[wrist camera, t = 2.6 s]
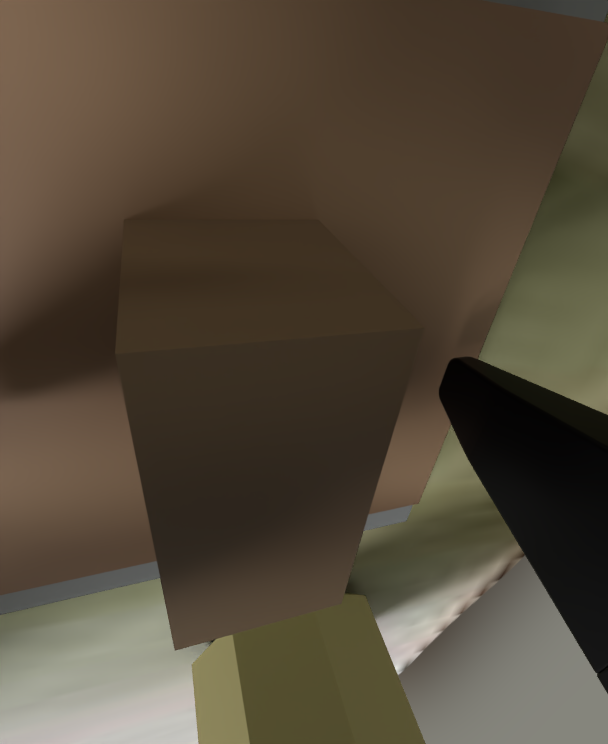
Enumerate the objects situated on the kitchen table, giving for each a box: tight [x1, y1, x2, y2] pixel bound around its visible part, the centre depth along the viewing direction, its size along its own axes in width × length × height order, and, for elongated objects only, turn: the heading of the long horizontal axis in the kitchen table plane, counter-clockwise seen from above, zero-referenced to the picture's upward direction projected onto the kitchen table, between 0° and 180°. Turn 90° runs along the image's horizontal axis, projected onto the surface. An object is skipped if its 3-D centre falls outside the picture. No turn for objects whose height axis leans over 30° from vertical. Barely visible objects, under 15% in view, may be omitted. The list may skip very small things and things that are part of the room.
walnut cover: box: [0, 0, 608, 650], centre depth 8 cm, size 12×12×5 cm
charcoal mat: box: [0, 0, 608, 615], centre depth 10 cm, size 18×14×1 cm
